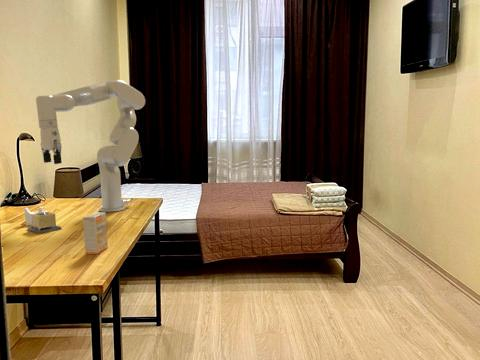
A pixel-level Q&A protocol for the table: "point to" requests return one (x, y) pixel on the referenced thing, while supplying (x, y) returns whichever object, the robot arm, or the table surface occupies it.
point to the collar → (43, 220)
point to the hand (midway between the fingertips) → (52, 162)
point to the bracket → (29, 217)
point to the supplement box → (95, 232)
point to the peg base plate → (42, 230)
